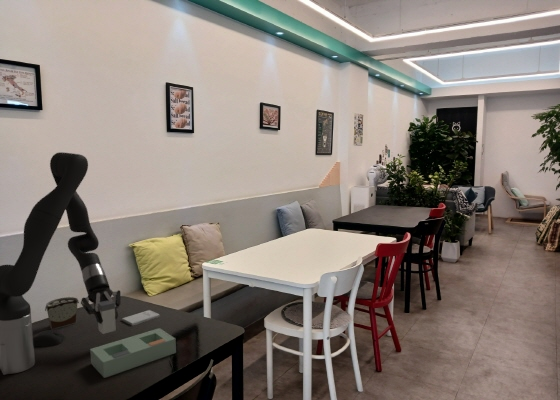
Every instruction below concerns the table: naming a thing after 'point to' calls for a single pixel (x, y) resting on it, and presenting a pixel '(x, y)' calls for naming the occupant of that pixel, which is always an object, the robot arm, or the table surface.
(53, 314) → the food container
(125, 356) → the socket block
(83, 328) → the table surface
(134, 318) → the external hard drive
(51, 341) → the computer mouse
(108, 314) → the plug
